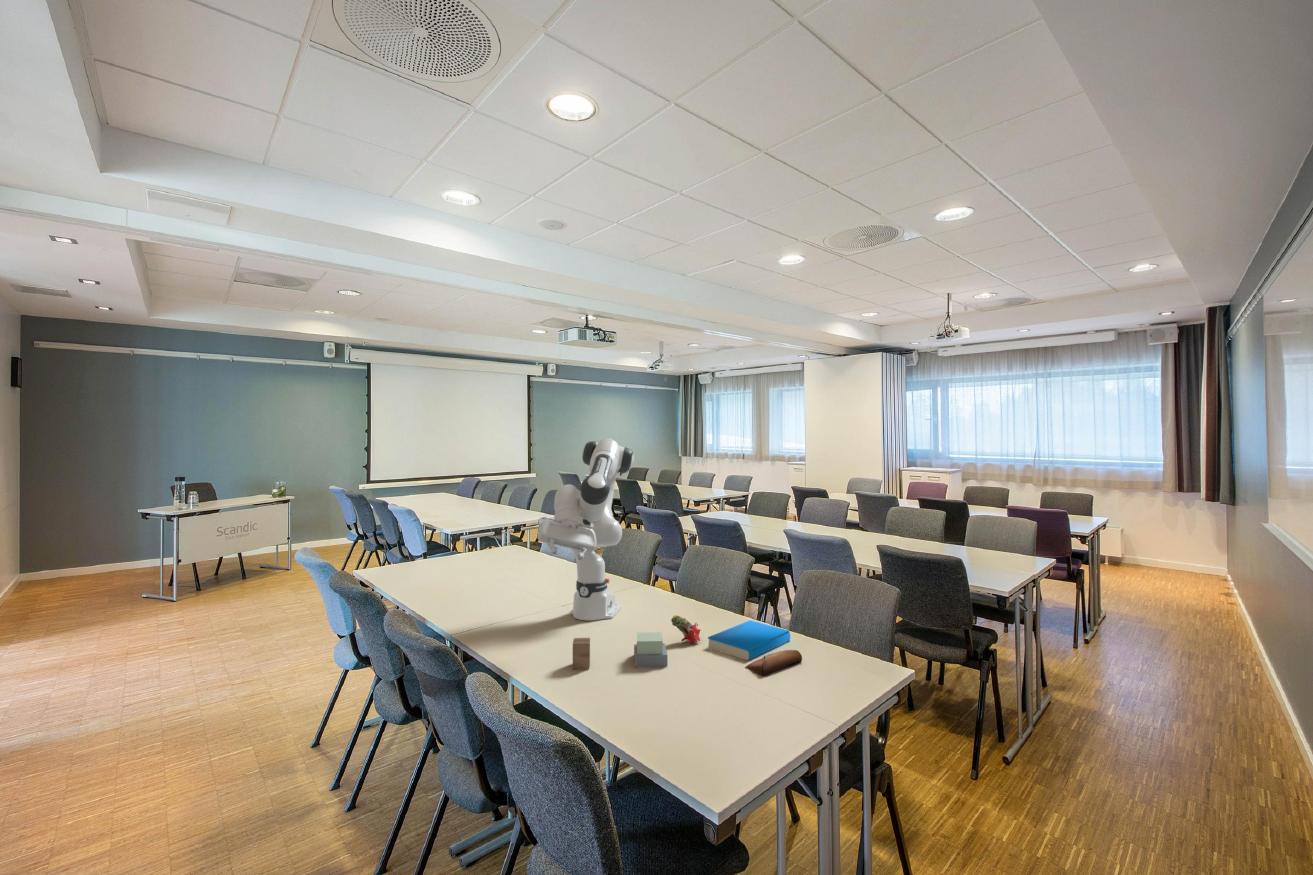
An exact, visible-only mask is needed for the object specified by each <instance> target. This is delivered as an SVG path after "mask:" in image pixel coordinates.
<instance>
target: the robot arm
mask: <svg viewBox="0 0 1313 875" xmlns="http://www.w3.org/2000/svg"><path fill="white" fill-rule="evenodd" d="M581 458H582V462H583V464H585V465H586V466H589V469H588V470H589V474H588V476H587V477H585V478H584V479H583V480H582V481H581V484H580V489H578V488H577V486H575V485H573V484H569V483H568V484H565V485H564V484H563V485H562V486H560V487H558V489H557V490H556V493H555V494H554V501H553V502H554V504H553V505H554V506H553V508H554V511H555V512H554V515H553V518H547V517H539V519H538V521H537V522H538V523H537V525H538V530H537V538H536V539H537V540H538V541H539V542H542V543H546V544H547V546H548V548H549V549H550V554H553V555H556V554H557V553H558V547H563V548H568V549H570V550H571V551H572V553H573V555H574V557H575V561H576V571H577V580H576V583H575V590H576V591H575V593H574V594H573V606H572V609H571V610H570V615H572V616H573V618H574V619H576V620H580V621H599V620H600V621H601V620H604V619H606V620H607V619H612V618H614V617H615V615H616V614H617V613H618V612H619V611H620V610H621V608H622V606H621V605H620V604H617V603H616V596H615V594H614V593H613V592H612V591H611V590H610V589H609V588H608V584H610V581H611V580H610V578H608V577H607V578H606V563H605V560H604V559H603V557H602V556H600V555H599V554H598V553H597V552H595V550H596V548H597V547H605V548H606V547H612V546H616V545H618V544H619V543H620V541H621V540H622V536H623V529H622V525H621V523H619V521H618V520H616V519H615V517H614V515H613V512H612V504H613V499H614V494H615V489H616V479H617V474H619V477H621V476H622V475H623V474H625V473H627V472H628V471H630V470H631V468H632V466H633V465H634V461H635V456H634V451H633V449H631V448H628V447H626V446H621V445H619V443H618V442H617V441H616V440H614V439H613V438H608V437H607V438H603V439H601V440H600V441H599V442H596V441H595V440H594V441H593V440H592V441H588V442H586V443H585V445H584V446H583V448H582V451H581ZM557 546H558V547H557Z"/></svg>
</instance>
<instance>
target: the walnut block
mask: <svg viewBox="0 0 1313 875" xmlns="http://www.w3.org/2000/svg"><path fill="white" fill-rule="evenodd" d="M590 666H591V637H574V638H573V641H572V671H583V670H584V671H586V670H590Z"/></svg>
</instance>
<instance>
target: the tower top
mask: <svg viewBox="0 0 1313 875" xmlns="http://www.w3.org/2000/svg"><path fill="white" fill-rule="evenodd" d="M663 643H664V642H663V633H662V632H661V631H659V632H656V631H655V632H654V631H653V632H636V644H637V654H663Z"/></svg>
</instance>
